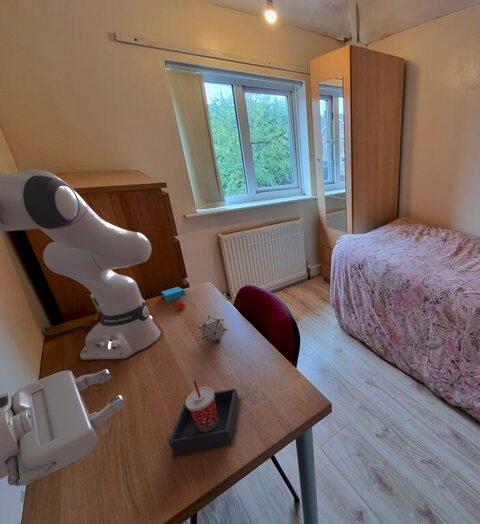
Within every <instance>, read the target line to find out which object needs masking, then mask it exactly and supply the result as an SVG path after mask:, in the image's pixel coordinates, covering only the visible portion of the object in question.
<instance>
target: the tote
mask: <svg viewBox="0 0 480 524" xmlns="http://www.w3.org/2000/svg"><path fill="white" fill-rule="evenodd" d="M214 395H215V397H214V400H215V405H216V410H217V414H218V419H219V421H218V424H217V425H216V427H215V428H213V429H212V430H210V431H208V432H201V431H200V430H199V429H198V427H197V425H196V423H195V421H194V419H193V416H192V414H191V412H190V410H189V409H188V408H187V407H186V404H185V401H186V399H187V397H188V396H186V397H185V400H184V402H183V405H182V408H181V409H180V412H179V415H178V418H177V421H176V423H175V426H174V428H173V431H172V433H171V437H170V439H169V441H168V444H169V446H170V448H171V451H172V453H173V455H174V456H175V455H182V454H184V453H191V452H197V451H200V450H206V449H211V448H216V447H220V446H225V445H231V444H232V442H233V435H234V430H235V425H236V419H237V413H238V407H239V401H240V399H239V394H238V391H237V388H230V389H225V390H219V391H214Z"/></svg>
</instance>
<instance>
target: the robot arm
mask: <svg viewBox="0 0 480 524" xmlns="http://www.w3.org/2000/svg"><path fill="white" fill-rule="evenodd" d="M39 229H40V231H41V232H43V233H44V234H45V235H46V236H48V237H49V238H51V240H53V242H50V243H48V244H47V245H46V246H45V248H44V250H43V253H42V259H43V262H44V264H45V265H46V267H47V268H48V269H49V270H50V271H51V272H53V273H55V274H57V275H60V276H64V277H67V278H69V279H71V280H74V281H76V282H77V283H79V284H81V285H82V286H83V287H84V288H86V289H87V290H88V291H89V292H90V293H91V294H93V296H94V298H95V299H96V301H97V303H98V305H99V307H100V309H101V311H99V312H97V314H96V315H95V317H94V319H95V321H98V319H99V321H98V322H97V323H96V324H95V326H93V327H90V326H88V325H78V326H74V327H71V328H67V329H65V330H62V331H58V332H54V333H47V332H46V331H45V327H44V326H41V327H42V333H41V334H42V336H43V337H47V338H51V337H56V336H60V335H63V334H66V333H69V332H72V331H75V330H78V329H86V331H87V334H86V336H85V340H84V343H85V345H84V347H83V348H82V350H81V352H80V353H79V354H80V355H79V357H80V360H85V361H86V360H124V359H127V358H129V357H131V356H132V355H134V354H135V353H137V352H139V351H141V350H142V351H143V350H144V349H145V348H148V347H150V346H151V345H152V344H154V343H155V342H156V341H157V340H158V339H159V338H160V337H161V334H162V331H161V329H160V328H159V327H158V326H157V325H156V324H155V321H154V320H153V317H152V316H151V315H150V311H149V308H148V305H147V303H146V301H145V299H144V298H143V296H142V294H141V291H140V289H139V286H138V283H137V282H136V281H135V279H133V278H131V277H130V276H128V275H123V274H119V273H117V272H115V271H113V270H118V269H124V268H131V267H135V266H137V265H140V264H143V263H146V262H147V261H148V260H149V259H150V257H151V255H152V245H151V242H150V240H149V239H148V237H146V235H144V234H143V233H141V232H137V231H133V230H132V231H131V230H128V229H124V228H122V227H119V226H116V225H114V224H113V223H109V222H108V221H106V220H104V219H103V218H102V217H100V215H98V213H96V212H95V211H94V210H93V209H92V207H90V206H89V204H88V203H87V202H86V201H85V200H84V198H82V196H80V194H78V192H76V191H75V189H74V188H73V187H71V186H70V185H69V184H68V183H66V182H65V181H64V180H63V179H61V178H60V177H59V176H57V175H56V174H54V173H52V172H50V171H47V170H42V169H27V170H22V171H19V172H16V173H6V172H5V173H4V172H3V173H1V172H0V232H14V231H29V230H39ZM112 377H113V376H112V374H111V372H110V371H109V369H107V368H105V369H103V370H100V371H98V372H96V373H95V372H94V373H90V374H83V375H81V376H79V377H75V375H74V373H73V372H72V370H62V371H58V372H55V373H53V374H50V375H47V376H45V377H43V378H41V379H38V380H36V381H33V382H31V383H29V384H27V385H25V386H23V387H21V388H19V389H18V390H17V391H16V392H14V394H13V395H12V394H11V393H9V392H6V393H4V394H1V395H0V480H3V479H5V478H6V477H7V484H8V485H9V486H15V487H20V486H21V487H22V486H27V485H29V484H31V483H32V482H35V481H36V480H38V479H39V478H42V477H46V476H48V475H51V474H53V473H55V472H57V471H59V470H61V469H62V468H65V467H66V466H68V465H71V464H72V463H74V462H76V461H78V460H79V459H81V458H83V457H85V456H87V455H88V454H90V453H92V452H93V451H94V450H95V449H96V447H97V446H98V445H99V444H100V439H99V436H98V434H97V433H98V432H97V430H96V429H98V428H100V427H102V426H104V425H105V424H106V423H107V422H108V421H109V420H110V419H111V418H112V417H113V416H114V415H115V413H117V412H118V411H120V410H122V409H124V408H125V407H126V406H127V405H126V404H127V403H126V401H125V399H124V397H123V395H121V394H119V395H117V396H116V395H115V397H113V398H111V399H109V400H108V404H107V405H105V406H104V407H103V408H102V409H101V410H100V411H94V412H92V413H90V412H89V410H88V407H87V404H86V402H85V399H84V396H83V394H82V391H84V390H86V389H88V388H89V386H92V385H95V384H99V383H100V384H101V385H102V384H105V383H106V382H108V381H110V380H111V379H112Z"/></svg>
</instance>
